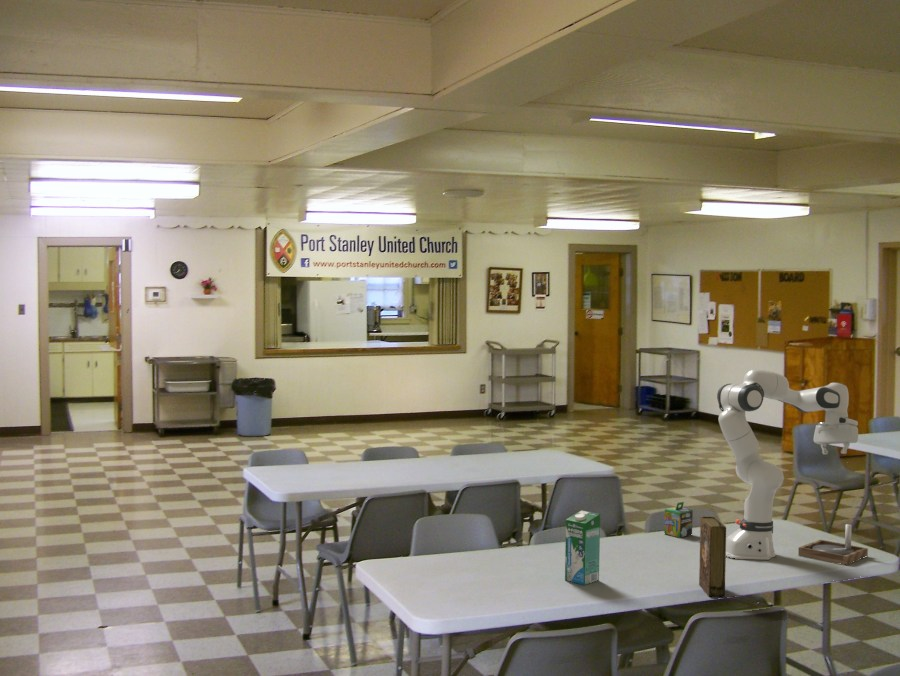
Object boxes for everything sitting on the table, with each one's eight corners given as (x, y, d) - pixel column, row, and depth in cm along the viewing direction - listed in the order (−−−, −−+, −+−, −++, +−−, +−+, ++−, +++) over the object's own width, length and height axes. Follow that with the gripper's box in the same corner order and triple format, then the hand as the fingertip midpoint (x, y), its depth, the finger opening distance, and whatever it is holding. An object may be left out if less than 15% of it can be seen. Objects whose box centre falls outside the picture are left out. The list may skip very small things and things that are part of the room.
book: (698, 584, 361) (699, 516, 360) (713, 584, 360) (714, 516, 360) (709, 597, 344) (710, 526, 343) (724, 597, 344) (726, 526, 343)
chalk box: (676, 531, 445) (676, 499, 444) (692, 535, 438) (693, 502, 437) (663, 534, 439) (663, 501, 438) (680, 538, 432) (680, 504, 431)
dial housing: (846, 565, 389) (846, 556, 389) (798, 555, 404) (798, 546, 404) (867, 556, 403) (867, 548, 403) (820, 547, 418) (820, 539, 417)
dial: (824, 557, 394) (825, 529, 394) (805, 547, 410) (805, 521, 410) (862, 556, 397) (862, 529, 396) (841, 546, 412) (841, 520, 412)
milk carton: (564, 580, 363) (565, 513, 362) (579, 575, 370) (580, 509, 369) (584, 585, 357) (585, 517, 356) (599, 580, 363) (600, 513, 362)
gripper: (811, 421, 422) (809, 453, 419) (851, 418, 404) (849, 451, 401) (821, 424, 425) (819, 455, 422) (861, 421, 407) (859, 454, 404)
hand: (834, 453), depth 411 cm, fingers open, 8 cm apart
